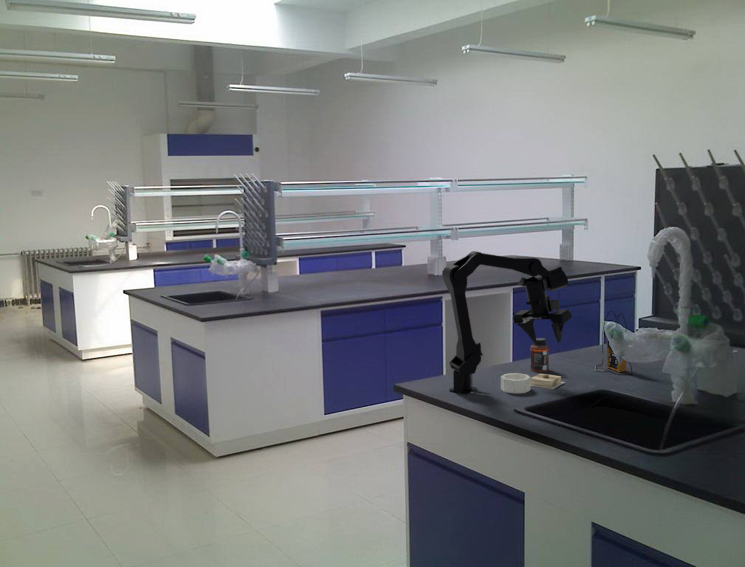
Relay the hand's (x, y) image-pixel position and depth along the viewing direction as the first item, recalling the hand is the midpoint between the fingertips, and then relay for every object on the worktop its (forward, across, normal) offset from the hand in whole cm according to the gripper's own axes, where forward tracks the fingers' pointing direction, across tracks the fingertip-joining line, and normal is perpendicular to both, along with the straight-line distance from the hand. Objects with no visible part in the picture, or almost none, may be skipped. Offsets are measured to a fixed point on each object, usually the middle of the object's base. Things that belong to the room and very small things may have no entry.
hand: (547, 341), depth 232 cm
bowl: (+10, +3, +17) cm, 20 cm away
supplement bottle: (+14, +11, -7) cm, 19 cm away
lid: (+12, 0, +6) cm, 13 cm away
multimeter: (+19, -6, -22) cm, 29 cm away
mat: (+12, 0, +6) cm, 14 cm away
